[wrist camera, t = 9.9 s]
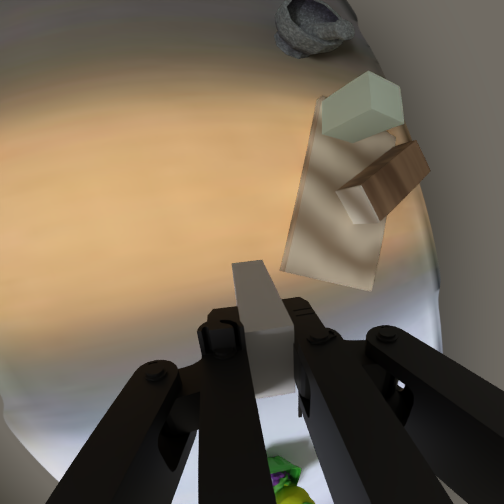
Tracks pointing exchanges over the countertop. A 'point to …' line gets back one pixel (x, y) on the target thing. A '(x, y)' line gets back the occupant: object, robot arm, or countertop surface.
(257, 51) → the countertop surface
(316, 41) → the mortar and pestle
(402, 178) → the walnut block
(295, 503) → the fruit basket
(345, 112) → the sage-green block
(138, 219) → the countertop surface
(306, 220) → the maple board
